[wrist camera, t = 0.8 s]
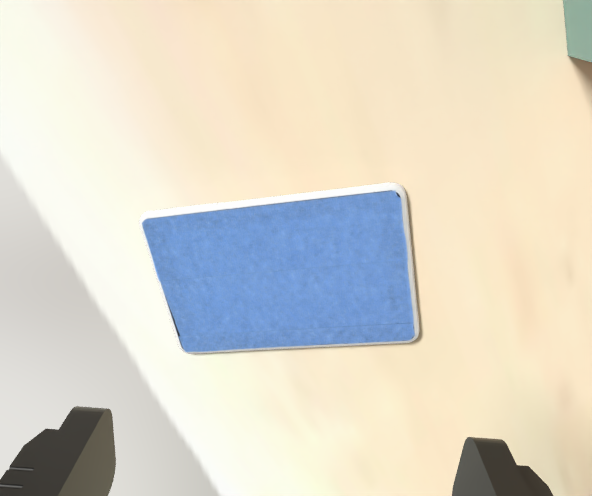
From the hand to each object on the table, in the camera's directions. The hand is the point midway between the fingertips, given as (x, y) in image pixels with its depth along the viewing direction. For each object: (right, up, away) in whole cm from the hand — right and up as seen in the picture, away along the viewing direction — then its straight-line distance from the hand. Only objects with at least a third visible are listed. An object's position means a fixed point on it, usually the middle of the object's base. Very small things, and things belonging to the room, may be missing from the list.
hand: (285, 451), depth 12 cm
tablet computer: (-1, +3, +27) cm, 27 cm away
